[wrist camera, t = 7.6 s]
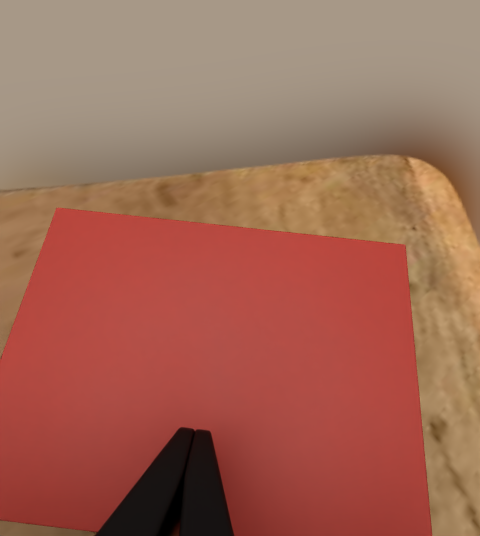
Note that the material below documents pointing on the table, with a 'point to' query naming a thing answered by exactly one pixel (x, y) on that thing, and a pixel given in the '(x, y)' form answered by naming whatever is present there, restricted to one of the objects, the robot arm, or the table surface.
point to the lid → (215, 375)
